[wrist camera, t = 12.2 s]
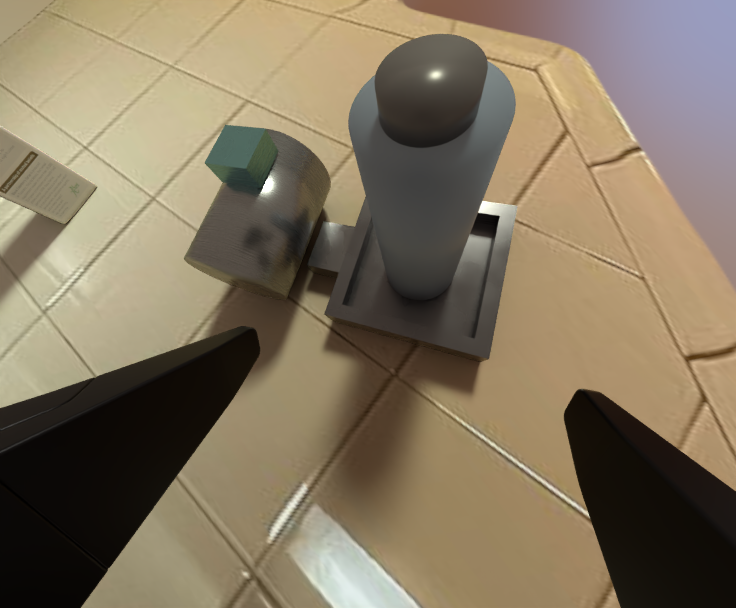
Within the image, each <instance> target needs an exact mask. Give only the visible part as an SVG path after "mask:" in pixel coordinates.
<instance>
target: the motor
mask: <svg viewBox="0 0 736 608" xmlns="http://www.w3.org/2000/svg"><path fill="white" fill-rule="evenodd" d="M205 164H206V165H207V166H208V167H209V168H210V169H211V170H212V171H213V173H214V174H215V175H216V176H217V177H218V178H219V179H220V180H221V181H222V182H223V183H222V185H221V187H220V189H219V191H218V193H217V195H216V197H215V199H214V201H213V203H212V204H211V206H210V208H209V210H208V212H207V214H206V216H205V218H204V220H203V222H202V224H201V226H200V228H199V230H198V232H197V234H196V236H195V238H194V239H193V241H192V243H191V245H190V247H189V249H188V251H187V253H186V255H185V257H184V260H185V261H186V262H187V263H188V264H190V265H191V266H193V267H194V268H196V269H198V270H200V271H202V272H204V273H206V274H208V275H210V276H212V277H214V278H216V279H218V280H221V281H223V282H225V283H228V284H230V285H233V286H235V287H238V288H241V289H243V290H246V291H249V292H252V293H255V294H259V295H262V296H266V297H269V298H274V299H280V300H285V299H287V297H288V294H289V292H290V289H291V287H292V284H293V282H294V279H295V277H296V274H297V272H298V269H299V266H300V264H301V261H302V259H303V256H304V254H305V251H306V249H307V246H308V244H309V241H310V239H311V236H312V233H313V231H314V228H315V226H316V223H317V221H318V218H319V216H320V213H321V211H322V208H323V206H324V203H325V200H326V198H327V195H328V193H329V190H330V187H331V181H330V177H329V174H328V172H327V170H326V168H325V166H324V165H323V163H322V162H321V161H320V159H319V158H318V157H317V156H316V155H315V154H314V153H313V152H312V151H311V150H310V149H308V148H307V147H306V146H305V145H303V144H302V143H300V142H299V141H297V140H296V139H294V138H292V137H290V136H288V135H286V134H284V133H281V132H278V131H274V130H270V129H264V128H253V127H242V126H231V125H225V126H224V128H223V130H222V132H221V134H220V136H219V137H218V139H217V141H216V143H215V145H214V147H213V148H212V150H211V152H210V154H209V156H208V158H207V159H206V161H205ZM516 211H517V206H514V205H507V204H500V203H492V202H485V201H482V203H481V206H480V209H479V211H478V214H477V217H476V219H475V222H474V224H473V227H472V230H471V232H470V235H469V238H468V240H467V243H466V246H465V248H464V251H463V254H462V256H461V259H460V262H459V264H458V267H457V270H456V272H455V275H454V278H453V280H452V282H451V284H450V285H449V287H448V288H447V289H446V290H445V291H444V292H443V293H441V294H440V295H438V296H436V297H434V298H431V299H427V300H413V299H409V298H406V297H404V296H402V295H400V294H399V293H398V292H396V291H395V290H394V289H393V287H392V286H391V284H390V283H389V280H388V278H387V274H386V270H385V266H384V262H383V259H382V255H381V251H380V247H379V243H378V240H377V236H376V232H375V228H374V224H373V221H372V217H371V213H370V209H369V205H368V202H367V198H366V197H365V200H364V203H363V206H362V209H361V212H360V214H359V217H358V220H357V223H356V226H355V227H353V226H347V225H341V224H336V223H330V222H325V221H324V222H323V225H322V227H321V230H320V233H319V235H318V238H317V240H316V243H315V245H314V248H313V251H312V253H311V256H310V258H309V261H308V264H307V266H308V267H309V268H310V269H311V270H312V271H313V272H314V273H316V274H320V275H324V276H329V277H333V278H337V280H336V283H335V285H334V288H333V291H332V294H331V297H330V300H329V302H328V305H327V308H326V311H325V315H326V316H327V317H328V318H330V319H331V320H332V321H334V322H338V323H341V324H345V325H348V326H352V327H356V328H359V329H363V330H366V331H370V332H374V333H377V334H381V335H385V336H388V337H392V338H395V339H399V340H403V341H406V342H410V343H414V344H417V345H421V346H424V347H428V348H432V349H435V350H439V351H442V352H446V353H450V354H453V355H457V356H461V357H464V358H468V359H471V360H475V361H479V362H481V361H484V360H488V359H489V356H490V351H491V345H492V340H493V335H494V329H495V324H496V319H497V313H498V308H499V302H500V297H501V292H502V286H503V281H504V276H505V270H506V265H507V260H508V254H509V249H510V243H511V238H512V233H513V227H514V222H515V217H516Z"/></svg>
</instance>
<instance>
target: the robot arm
mask: <svg viewBox="0 0 736 608" xmlns="http://www.w3.org/2000/svg"><path fill="white" fill-rule="evenodd" d="M259 354H260V345H259V340H258V336H257V332H256V330H255V329H254V328H251V327H246V326H241V327H238V328H235V329H232V330H229V331H226V332H223V333H220V334H218V335H215V336H212V337H209V338H206V339H203V340H200V341H197V342H194V343H192V344H189V345H186V346H183V347H180V348H177V349H174V350H171V351H169V352H166V353H163V354H160V355H157V356H154V357H151V358H148V359H146V360H143V361H140V362H137V363H134V364H131V365H128V366H125V367H122V368H120V369H117V370H114V371H111V372H108V373H105V374H102V375H99V376H97V377H96V378H91V379H88V380H85V381H82V382H79V383H76V384H73V385H70V386H67V387H64V388H61V389H58V390H56V391H53V392H50V393H47V394H44V395H41V396H37V397H34V398H31V399H28V400H25V401H22V402H18V403H15V404H12V405H9V406H6V407H3V408H0V608H81V607H82V605H83V604H84V603H85V601H86V600H87V599H88V597H89V596H90V594H91V593H92V592H93V590H94V589H95V588H96V586H97V585H98V583H99V582H100V581H101V579H102V578H103V577H104V575H105V574H106V572H107V571H108V568H110V567H111V565H112V564H113V563H114V561H115V560H116V558H117V557H118V556H119V554H120V553H121V552H122V550H123V549H124V548H125V546H126V545H127V543H128V542H129V541H130V539H131V538H132V537H133V535H134V534H135V532H136V531H137V530H138V528H139V527H140V526H141V524H142V523H143V522H144V520H145V519H146V517H147V516H148V515H149V513H150V512H151V511H152V509H153V508H154V506H155V505H156V504H157V502H158V501H159V500H160V498H161V497H162V496H163V494H164V493H165V491H166V490H167V489H168V487H169V486H170V485H171V483H172V482H173V480H174V479H175V478H176V476H177V475H178V474H179V472H180V471H181V470H182V468H183V467H184V465H185V464H186V463H187V461H188V460H189V459H190V457H191V456H192V454H193V453H194V452H195V450H196V449H197V448H198V446H199V445H200V444H201V442H202V441H203V439H204V438H205V437H206V435H207V434H208V433H209V431H210V430H211V428H212V427H213V426H214V424H215V423H216V422H217V420H218V419H219V418H220V416H221V415H222V413H223V412H224V411H225V409H226V408H227V407H228V405H229V404H230V402H231V401H232V400H233V398H234V397H235V395H236V393H237V392H238V390H239V389H240V387H241V385H242V384H243V382H244V380H245V379H246V377H247V375H248V373H249V372H250V370H251V368H252V367H253V365H254V363H255V362H256V360H257V358H258V357H259ZM564 422H565V426H566V431H567V435H568V439H569V444H570V448H571V453H572V457H573V462H574V466H575V470H576V475H577V478H578V482H579V486H580V489H581V492H582V495H583V498H584V501H585V504H586V507H587V510H588V513H589V516H590V519H591V522H592V525H593V528H594V531H595V533H596V536H597V539H598V542H599V545H600V548H601V551H602V554H603V557H604V560H605V563H606V566H607V569H608V572H609V575H610V577H611V580H612V583H613V586H614V589H615V592H616V595H617V598H618V601H619V604H620V607H621V608H736V491H734V490H733V489H732V488H730V487H729V486H728V485H726V484H725V483H724V482H722V481H721V480H719V479H718V478H717V477H715V476H714V475H713V474H711V473H710V472H709V471H707V470H706V469H704V468H703V467H702V466H700V465H699V464H698V463H696V462H695V461H694V460H692V459H691V458H689V457H688V456H687V455H685V454H684V453H683V452H681V451H680V450H679V449H677V448H676V447H674V446H673V445H672V444H670V443H669V442H668V441H666V440H665V439H664V438H662V437H661V436H659V435H658V434H657V433H655V432H654V431H653V430H651V429H650V428H649V427H647V426H646V425H644V424H643V423H642V422H640V421H639V420H638V419H636V418H635V417H634V416H632V415H631V414H629V413H628V412H627V411H625V410H624V409H623V408H621V407H620V406H619V405H617V404H616V403H614V402H613V401H612V400H610V399H609V398H608V397H606V396H605V395H604V394H602V393H600V392H597V391H592V390H587V389H579V390H577V391H576V392H575V394H574V396H573V397H572V399H571V401H570V403H569V404H568V406H567V408H566V410H565V412H564Z"/></svg>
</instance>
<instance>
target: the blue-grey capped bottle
mask: <svg viewBox="0 0 736 608" xmlns="http://www.w3.org/2000/svg"><path fill="white" fill-rule="evenodd" d="M515 106H516V103H515V94H514V91H513V88H512V86H511V84H510V81H509V80H508V78H507V77H506V76H505V74H504V73H503V72H502V71H501V70H500V69H499V68H497V67H496V66H495V65H493V64H492V63H490V62H488V61H487V58H486V56H485V54H484V52H483V51H482V49H481V48H480V47H479V46H478V45H477V44H475V43H474V42H473V41H471V40H469V39H467V38H464V37H461V36H457V35H451V34H434V35H427V36H423V37H419V38H416V39H413V40H411V41H408V42H406V43H404V44H402V45H400V46H399V47H397V48H396V49H394V50H393V51H392V52H391V53H389V54H388V55H387V56H386V57H385V59H384V60H383V61H382V62H381V64H380V66H379V67H378V69H377V72H376V75H375V76H373V77H372V78H371V79H370V80H369V81H368V82H367V83H366V84H365V85H364V86H363V87H362V89H361V90H360V91H359V93H358V94H357V96H356V98H355V100H354V102H353V104H352V107H351V110H350V113H349V132H350V137H351V141H352V145H353V148H354V152H355V156H356V160H357V164H358V167H359V171H360V175H361V179H362V183H363V186H364V190H365V194H366V198H367V202H368V205H369V209H370V213H371V217H372V221H373V224H374V228H375V232H376V236H377V240H378V243H379V247H380V251H381V255H382V259H383V262H384V266H385V270H386V274H387V278H388V280H389V283H390V284H391V286H392V287H393V289H394V290H395V291H396V292H398V293H399V294H400V295H402V296H404V297H406V298H409V299H413V300H427V299H431V298H434V297H436V296H438V295H440V294H441V293H443V292H444V291H445V290H446V289H447V288H448V287H449V285H450V284H451V282H452V280H453V278H454V275H455V272H456V270H457V267H458V264H459V262H460V259H461V256H462V254H463V251H464V248H465V246H466V243H467V240H468V238H469V235H470V232H471V230H472V227H473V224H474V222H475V219H476V217H477V214H478V211H479V209H480V206H481V203H482V201H483V198H484V195H485V193H486V190H487V187H488V185H489V182H490V179H491V177H492V174H493V171H494V169H495V166H496V163H497V161H498V158H499V155H500V153H501V150H502V147H503V145H504V142H505V140H506V137H507V134H508V132H509V129H510V126H511V124H512V121H513V117H514V114H515Z"/></svg>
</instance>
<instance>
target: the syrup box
mask: <svg viewBox="0 0 736 608" xmlns="http://www.w3.org/2000/svg"><path fill="white" fill-rule="evenodd" d="M96 187H97V185H95V184H94V183H93V182H91V181H89V180H88V179H86V178H85V177H83V176H81V175H80V174H78V173H77V172H75V171H73V170H72V169H70V168H69V167H67V166H65V165H64V164H62V163H61V162H59V161H57V160H56V159H54V158H53V157H51V156H49V155H48V154H46V153H44V152H43V151H41V150H39V149H38V148H36V147H35V146H33V145H31V144H30V143H28V142H27V141H25V140H23V139H22V138H20V137H18V136H17V135H15V134H13V133H12V132H10V131H8V130H7V129H5V128H3V127H2V126H0V197H3V198H5V199H7V200H9V201H12V202H14V203H16V204H18V205H21V206H23V207H25V208H27V209H30V210H32V211H34V212H36V213H39V214H41V215H43V216H46V217H48V218H50V219H53V220H55V221H57V222H59V223H62V224H66V223H67V222H68V221H69V220H70V219H71V218H72V217H73V216H74V215H75V214H76V212H77V211H78V210H79V209H80V208H81V207H82V205H83V204H84V203H85V202H86V200H87V199H88V198H89V196H90V195H91V194H92V193H93V191H94V190H95V188H96Z"/></svg>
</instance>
